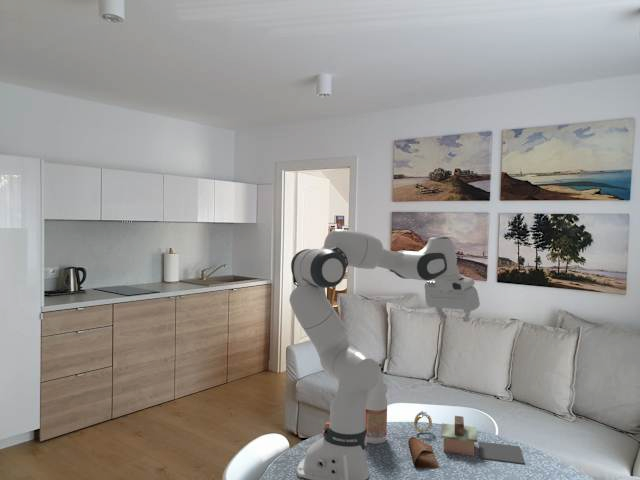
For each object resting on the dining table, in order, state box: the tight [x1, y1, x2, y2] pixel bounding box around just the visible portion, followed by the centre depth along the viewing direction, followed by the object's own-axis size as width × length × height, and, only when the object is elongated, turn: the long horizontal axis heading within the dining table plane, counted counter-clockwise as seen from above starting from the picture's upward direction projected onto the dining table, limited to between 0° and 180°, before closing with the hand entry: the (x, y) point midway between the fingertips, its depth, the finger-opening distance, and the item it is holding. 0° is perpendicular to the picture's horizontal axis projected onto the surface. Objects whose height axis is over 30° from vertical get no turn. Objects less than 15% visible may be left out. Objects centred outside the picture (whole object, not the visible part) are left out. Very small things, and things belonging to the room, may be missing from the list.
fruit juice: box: [365, 360, 388, 445], centre depth 181 cm, size 9×9×28 cm
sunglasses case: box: [407, 436, 440, 469], centre depth 168 cm, size 18×7×7 cm
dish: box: [443, 438, 475, 456], centre depth 176 cm, size 10×10×5 cm
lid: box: [440, 415, 478, 443], centre depth 176 cm, size 12×12×5 cm
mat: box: [477, 441, 526, 465], centre depth 172 cm, size 14×14×1 cm
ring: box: [413, 411, 433, 434], centre depth 189 cm, size 7×3×8 cm, turn 101°
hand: (454, 320), depth 173 cm, fingers open, 8 cm apart
